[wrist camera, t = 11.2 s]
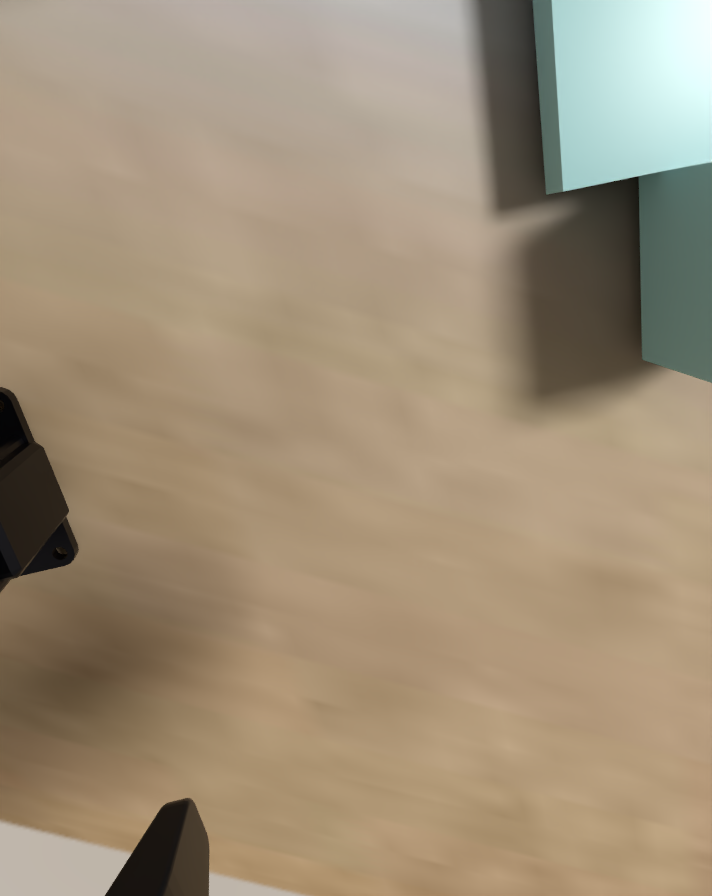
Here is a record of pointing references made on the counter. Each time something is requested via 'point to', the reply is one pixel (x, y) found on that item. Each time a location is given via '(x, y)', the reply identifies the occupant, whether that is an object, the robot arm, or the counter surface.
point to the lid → (640, 146)
